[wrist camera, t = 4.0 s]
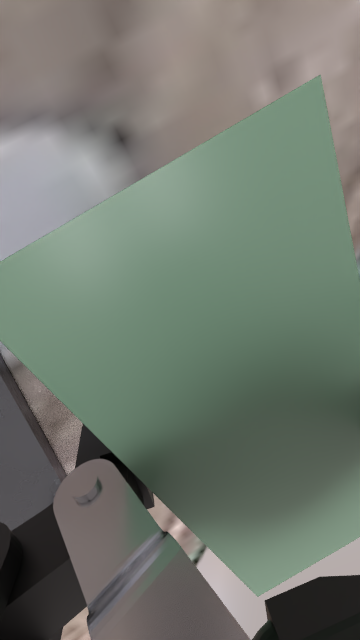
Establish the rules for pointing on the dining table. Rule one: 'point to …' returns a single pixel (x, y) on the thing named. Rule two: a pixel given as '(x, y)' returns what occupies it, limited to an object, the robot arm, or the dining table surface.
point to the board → (215, 337)
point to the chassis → (23, 458)
